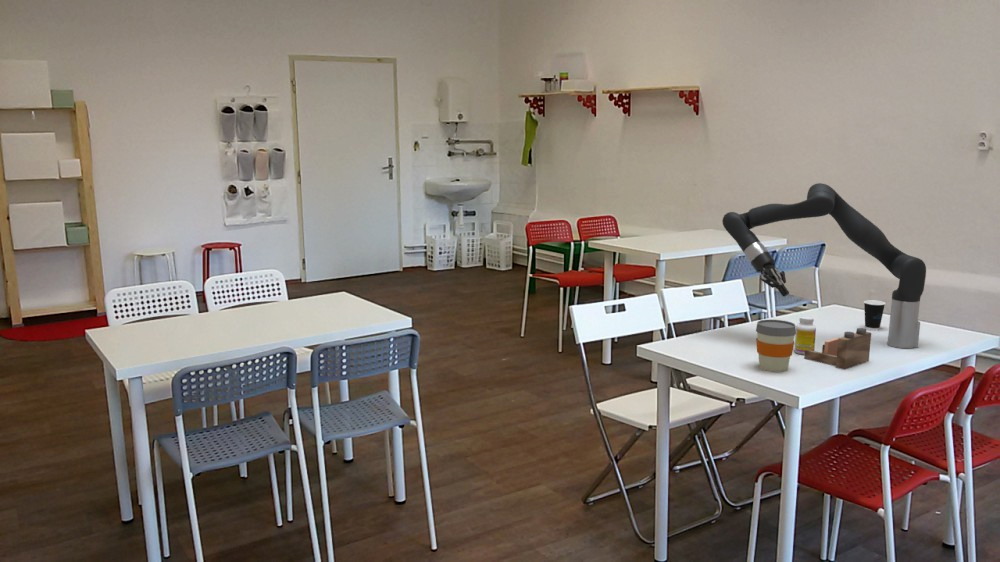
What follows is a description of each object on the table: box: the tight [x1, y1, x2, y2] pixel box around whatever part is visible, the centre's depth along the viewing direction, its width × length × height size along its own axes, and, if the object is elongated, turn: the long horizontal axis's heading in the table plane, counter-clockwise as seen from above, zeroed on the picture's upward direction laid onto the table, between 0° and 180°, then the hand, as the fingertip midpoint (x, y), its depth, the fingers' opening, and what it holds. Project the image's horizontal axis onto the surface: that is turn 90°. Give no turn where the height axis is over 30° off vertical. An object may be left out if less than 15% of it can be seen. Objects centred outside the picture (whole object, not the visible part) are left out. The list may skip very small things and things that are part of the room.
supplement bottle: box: [793, 315, 817, 356], centre depth 286 cm, size 7×7×13 cm
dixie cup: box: [863, 299, 886, 332], centre depth 321 cm, size 8×8×11 cm
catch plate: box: [824, 337, 839, 356], centre depth 278 cm, size 1×9×6 cm, turn 128°
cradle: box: [804, 327, 872, 370], centre depth 277 cm, size 16×16×12 cm
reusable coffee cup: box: [755, 319, 797, 372], centre depth 268 cm, size 13×13×15 cm
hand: (786, 295), depth 290 cm, fingers closed
